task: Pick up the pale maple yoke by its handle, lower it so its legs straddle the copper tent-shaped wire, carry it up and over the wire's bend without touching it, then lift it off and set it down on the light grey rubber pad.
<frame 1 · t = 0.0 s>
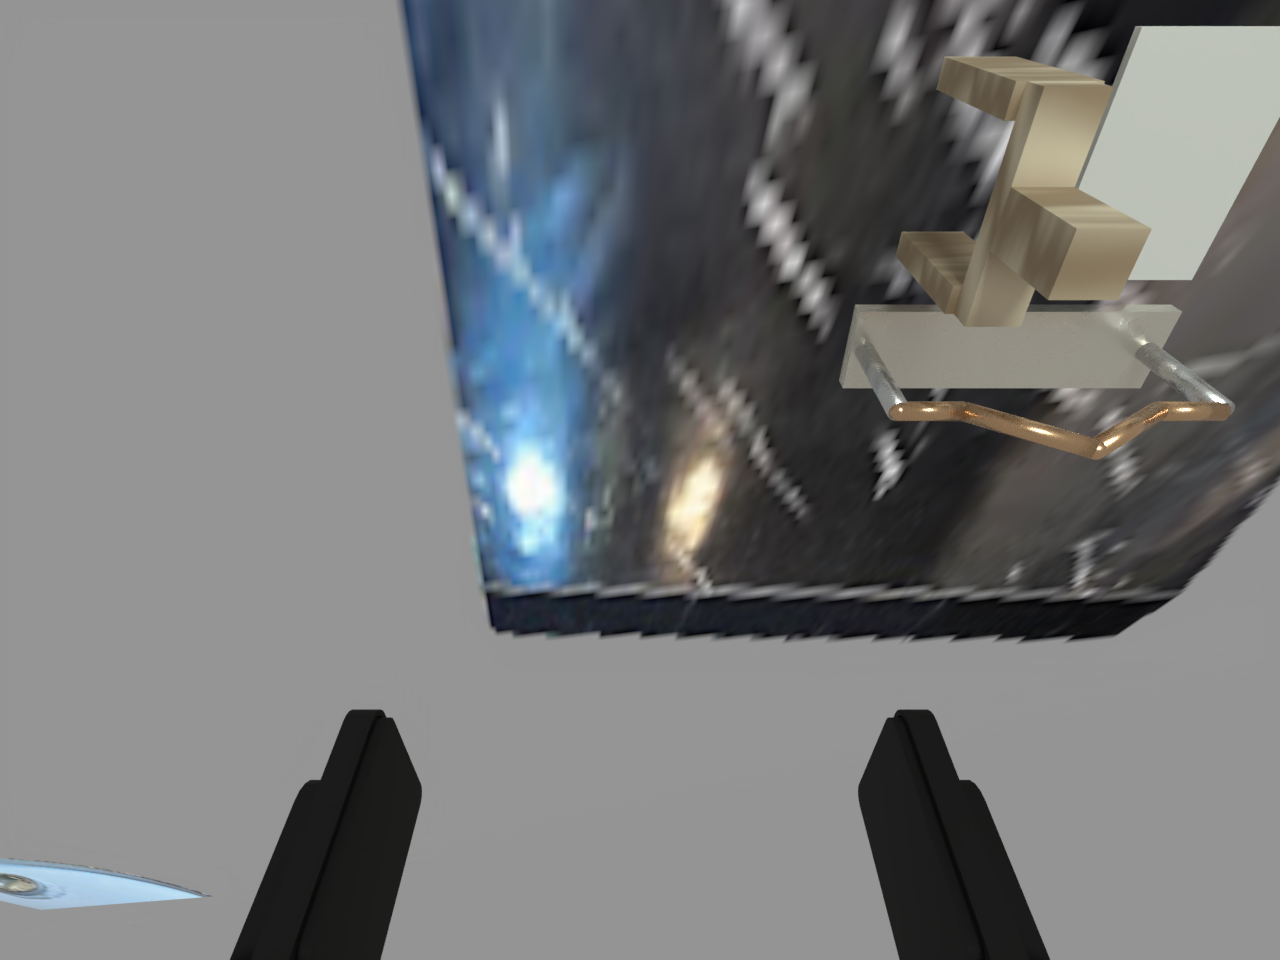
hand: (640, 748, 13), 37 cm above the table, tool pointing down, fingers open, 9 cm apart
pad: (1163, 165, 40), on the table
yoke: (950, 164, 40), on the table
wire: (998, 343, 48), on the table
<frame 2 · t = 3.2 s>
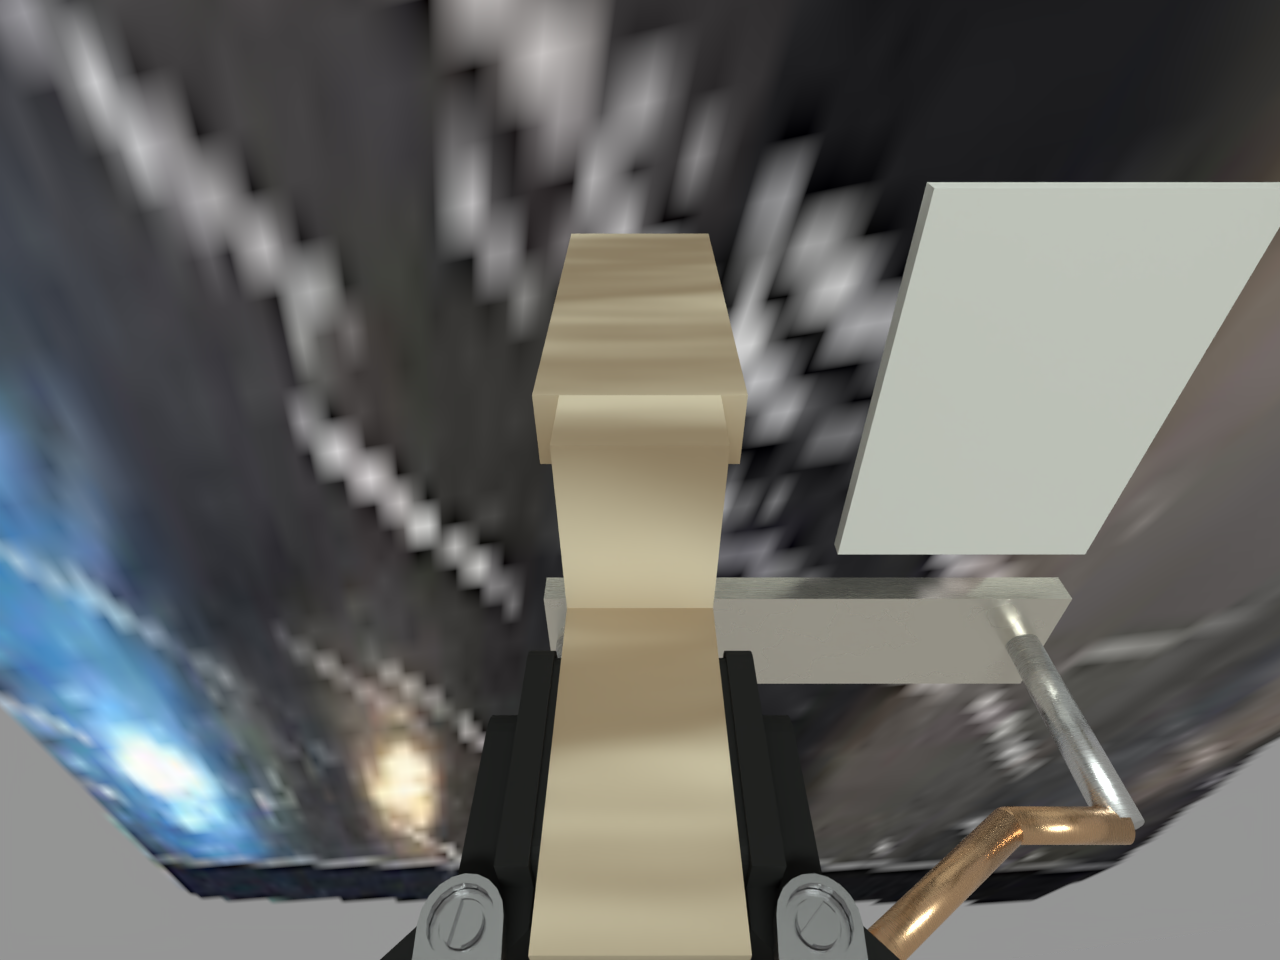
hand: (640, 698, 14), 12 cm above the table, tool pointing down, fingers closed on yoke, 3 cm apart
pad: (1016, 397, 23), on the table
yoke: (639, 398, 23), on the table, touching gripper
wire: (792, 622, 30), on the table
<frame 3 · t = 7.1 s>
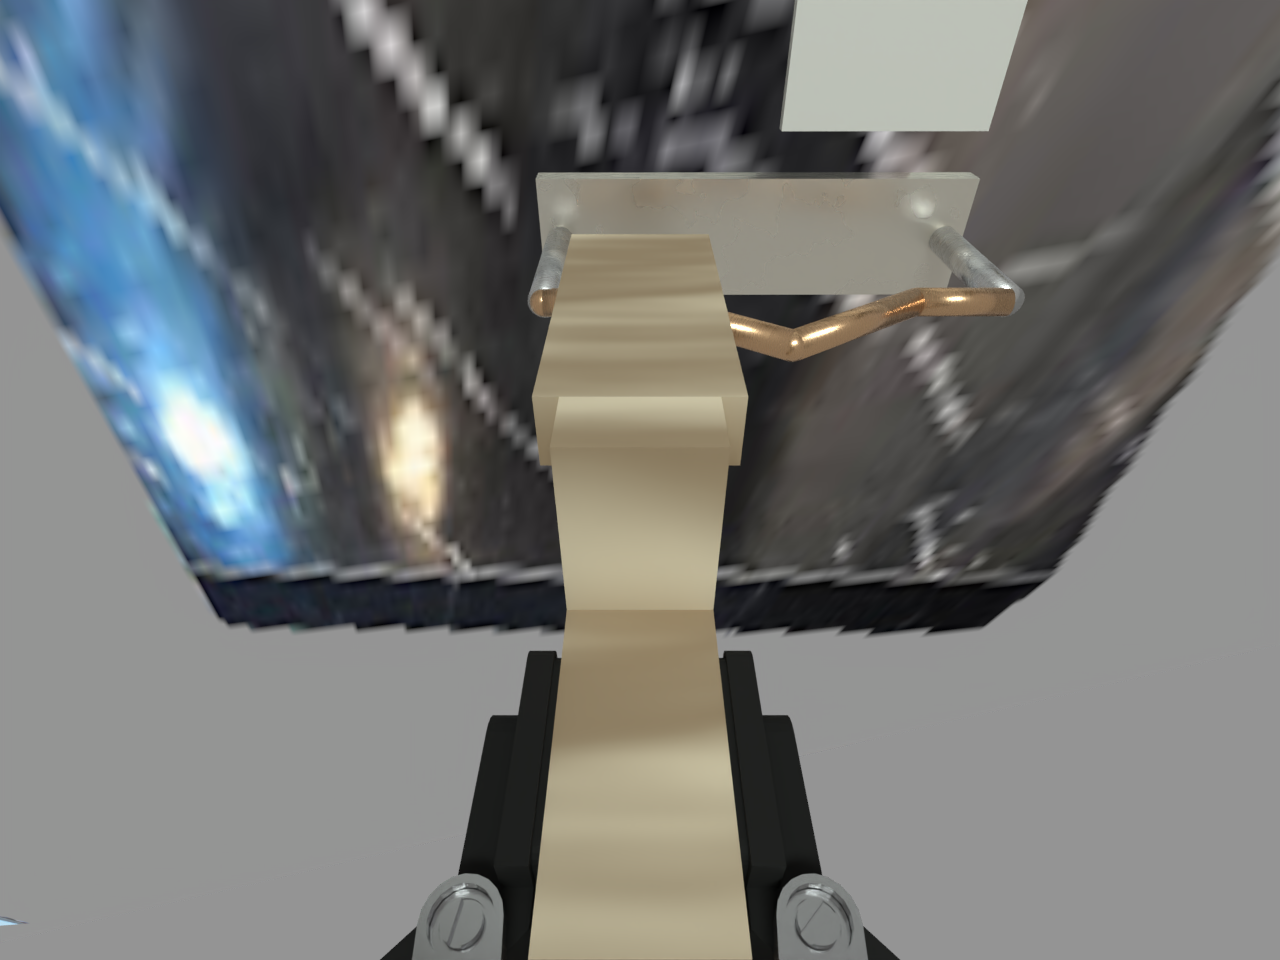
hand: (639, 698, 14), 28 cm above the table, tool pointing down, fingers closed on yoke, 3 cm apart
yoke: (640, 398, 23), point 16 cm above the table, touching gripper
wire: (748, 232, 35), on the table
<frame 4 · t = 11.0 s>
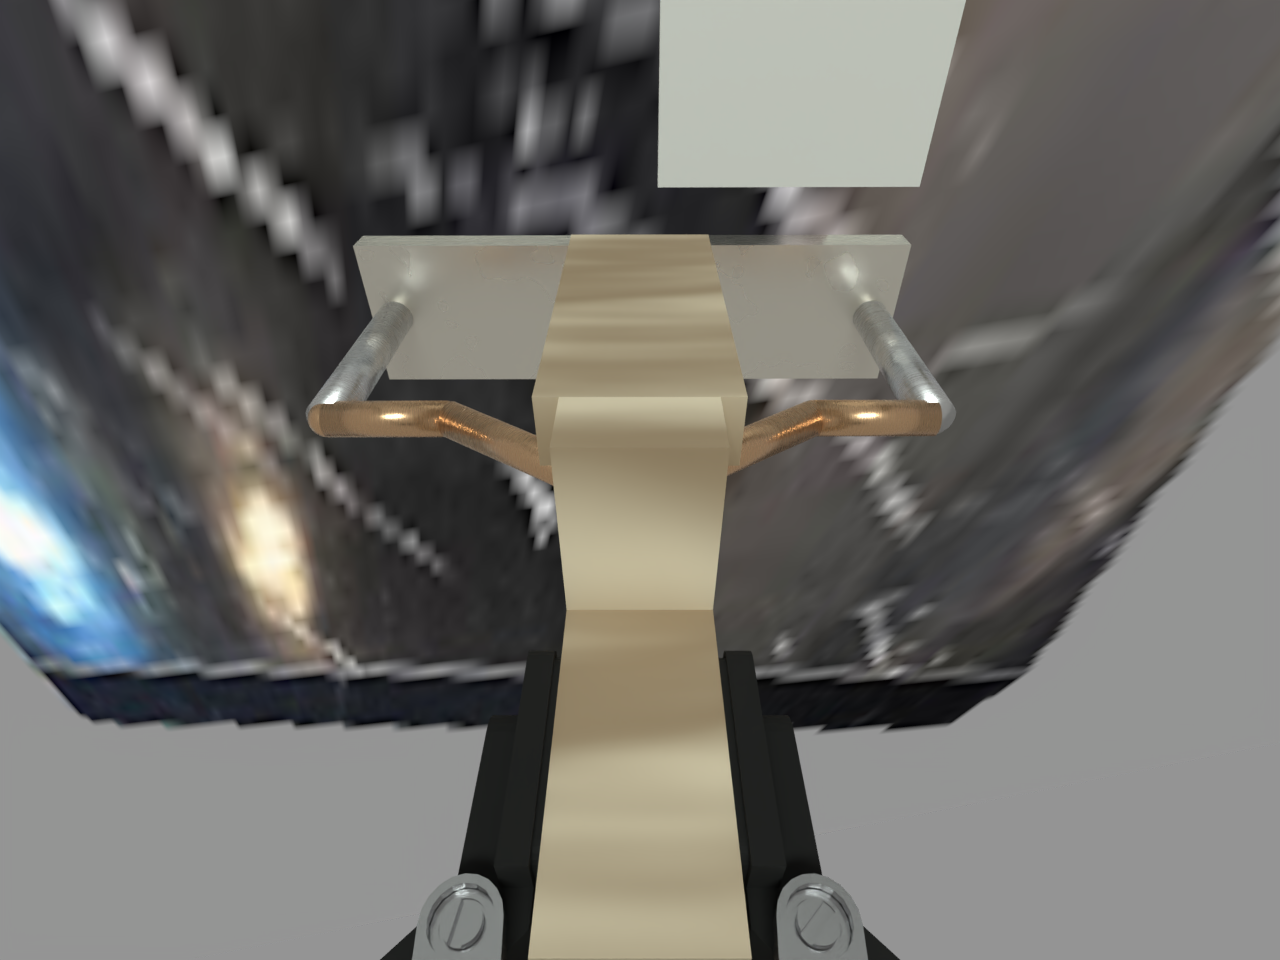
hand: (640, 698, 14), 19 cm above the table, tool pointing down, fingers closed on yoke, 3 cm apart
yoke: (639, 399, 23), point 8 cm above the table, touching gripper
wire: (632, 304, 29), on the table
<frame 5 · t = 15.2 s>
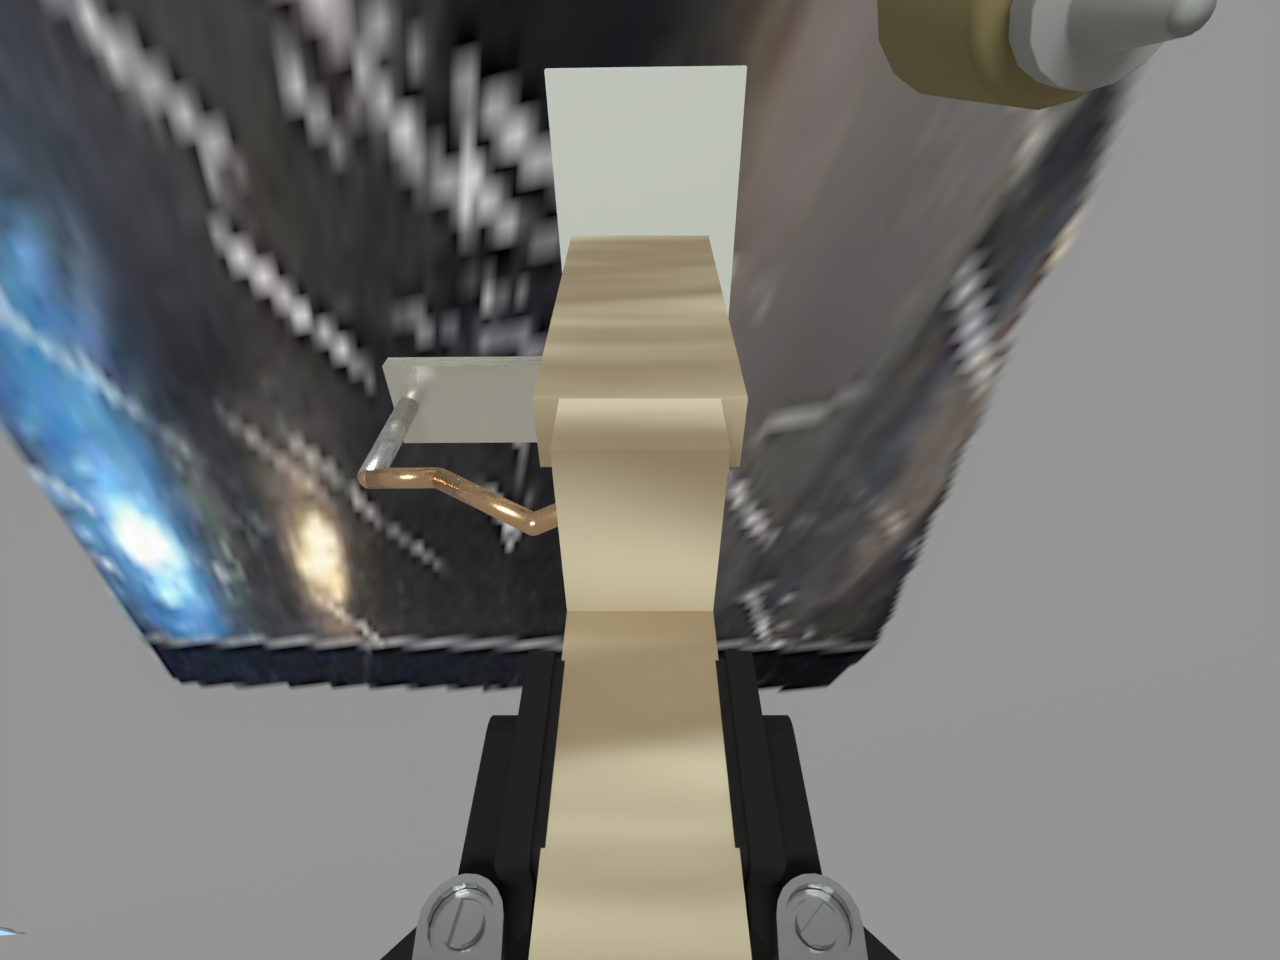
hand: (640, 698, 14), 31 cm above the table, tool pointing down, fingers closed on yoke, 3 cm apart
pad: (646, 212, 37), on the table
yoke: (639, 399, 23), point 19 cm above the table, touching gripper
wire: (559, 395, 45), on the table
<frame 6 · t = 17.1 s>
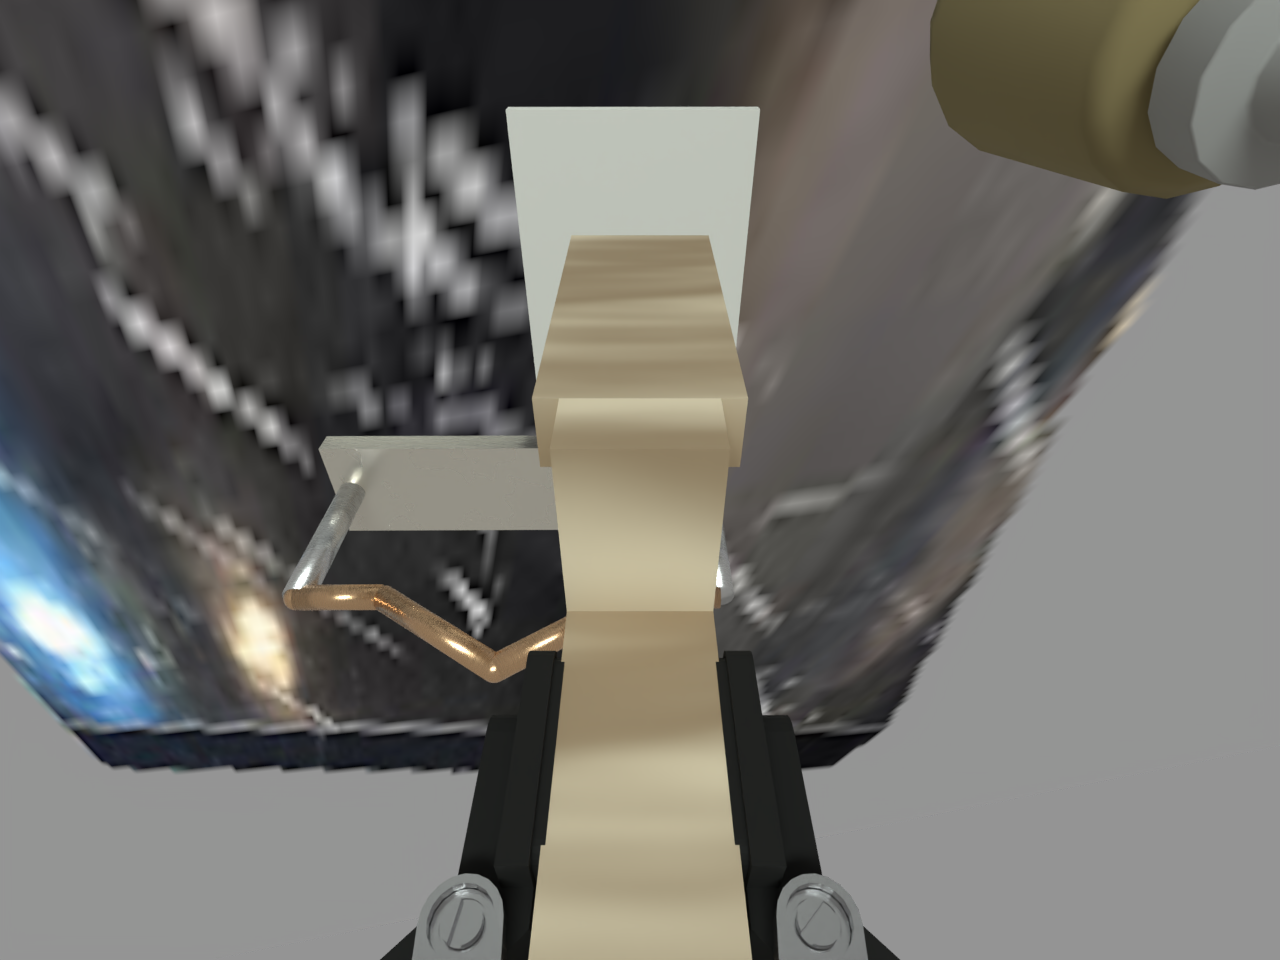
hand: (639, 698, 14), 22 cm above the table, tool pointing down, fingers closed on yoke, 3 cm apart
pad: (634, 276, 31), on the table
yoke: (639, 399, 23), point 10 cm above the table, touching gripper
wire: (531, 477, 38), on the table
squeeze bottle: (1005, 14, 25), on the table
when the fingers open (13 cm above the table, at t = 19.0 s): yoke drops 1 cm, resting on pad.
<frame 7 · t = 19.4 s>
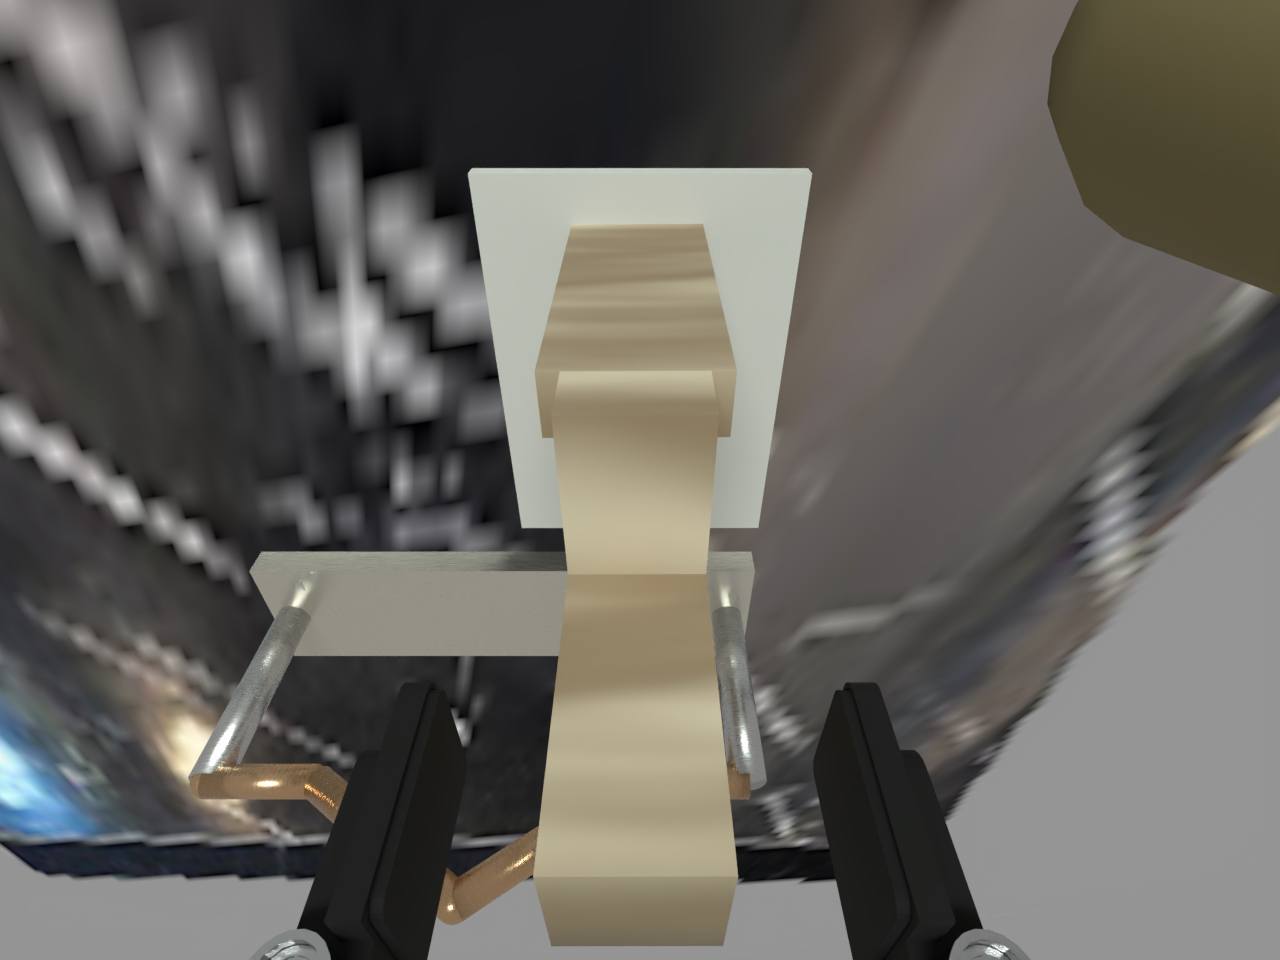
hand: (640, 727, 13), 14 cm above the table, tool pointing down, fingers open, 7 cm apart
pad: (640, 375, 24), on the table
yoke: (638, 384, 24), point 1 cm above the table, touching pad
wire: (514, 596, 31), on the table
squeeze bottle: (1155, 47, 18), on the table
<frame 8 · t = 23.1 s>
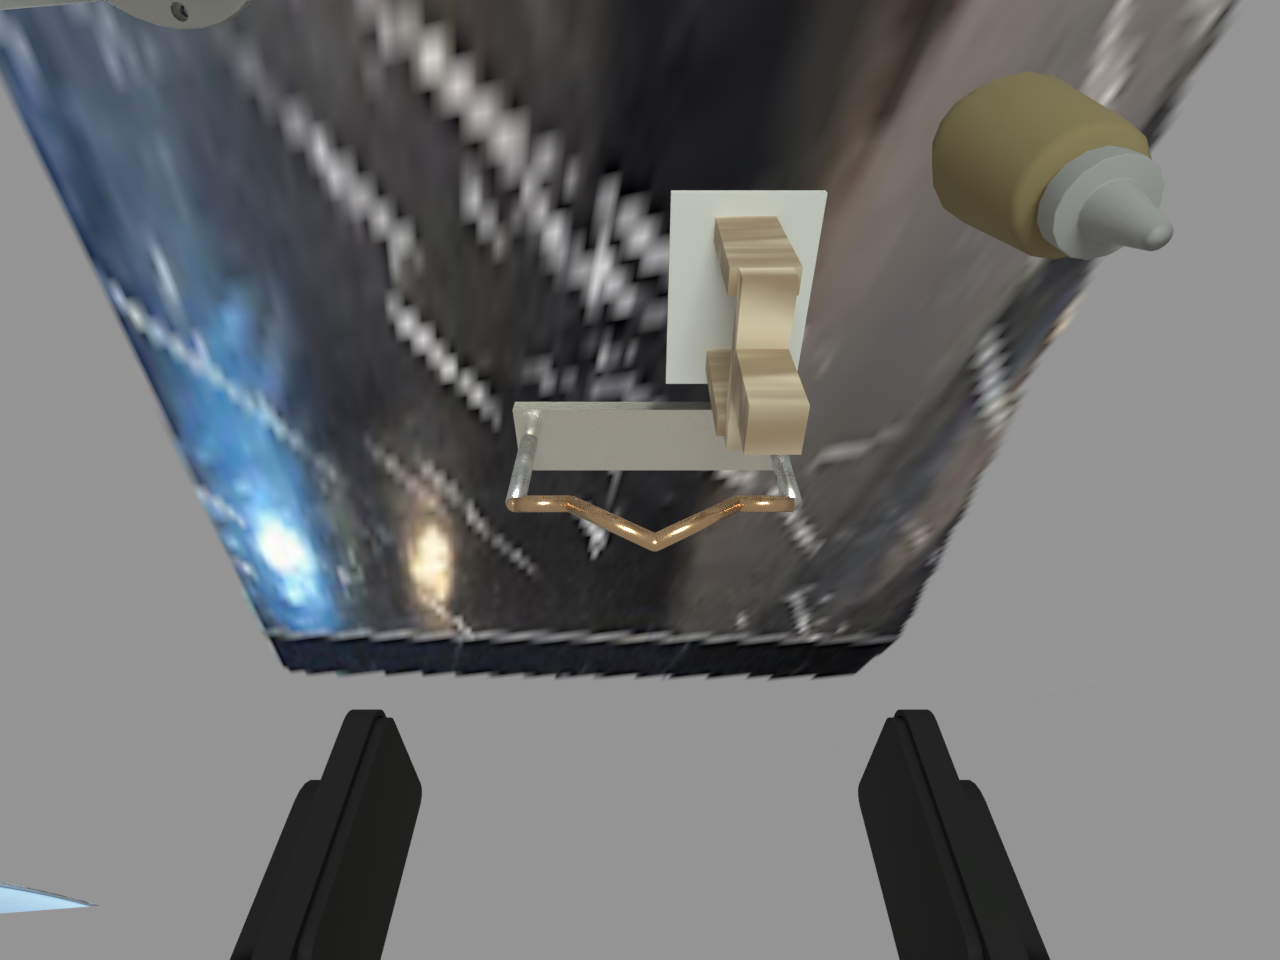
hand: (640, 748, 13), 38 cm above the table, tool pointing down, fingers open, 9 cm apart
pad: (738, 293, 47), on the table
yoke: (738, 297, 47), point 1 cm above the table, touching pad
wire: (652, 432, 55), on the table
squeeze bottle: (978, 138, 41), on the table
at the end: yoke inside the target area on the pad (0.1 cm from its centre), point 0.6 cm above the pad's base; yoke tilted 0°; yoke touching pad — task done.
